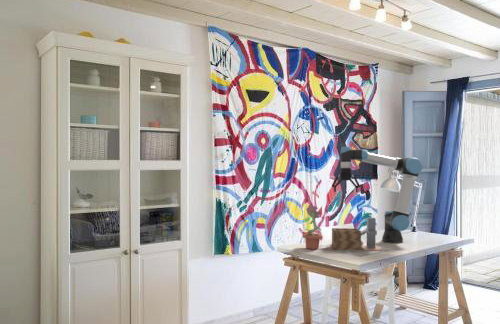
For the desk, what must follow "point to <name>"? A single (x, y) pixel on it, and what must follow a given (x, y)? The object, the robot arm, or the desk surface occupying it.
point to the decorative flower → (312, 238)
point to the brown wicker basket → (346, 239)
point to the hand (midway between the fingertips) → (345, 196)
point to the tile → (371, 248)
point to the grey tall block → (371, 232)
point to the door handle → (362, 234)
